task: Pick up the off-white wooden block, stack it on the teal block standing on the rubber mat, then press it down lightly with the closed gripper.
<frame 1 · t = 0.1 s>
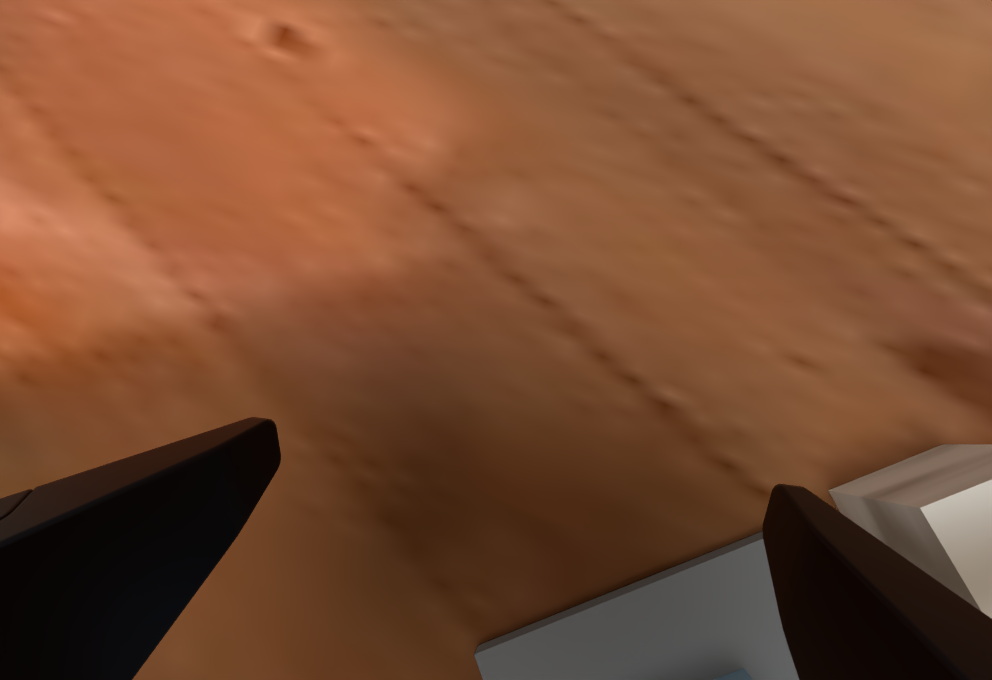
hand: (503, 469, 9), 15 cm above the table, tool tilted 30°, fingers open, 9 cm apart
top brick: (918, 525, 21), on the table
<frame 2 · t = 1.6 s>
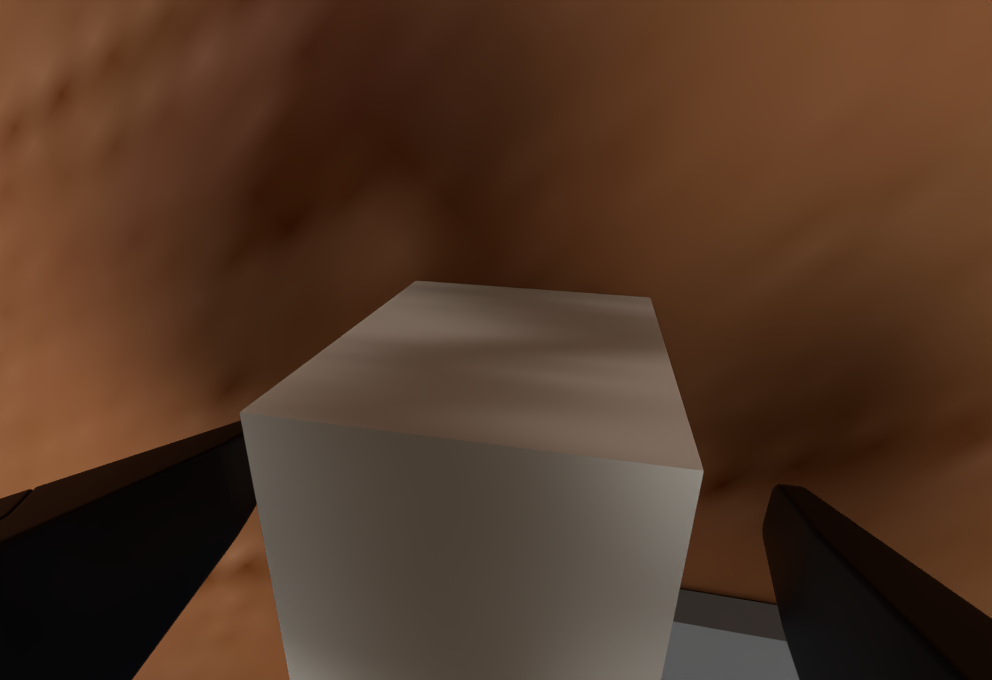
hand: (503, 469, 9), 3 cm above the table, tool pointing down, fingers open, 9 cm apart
top brick: (523, 392, 12), on the table
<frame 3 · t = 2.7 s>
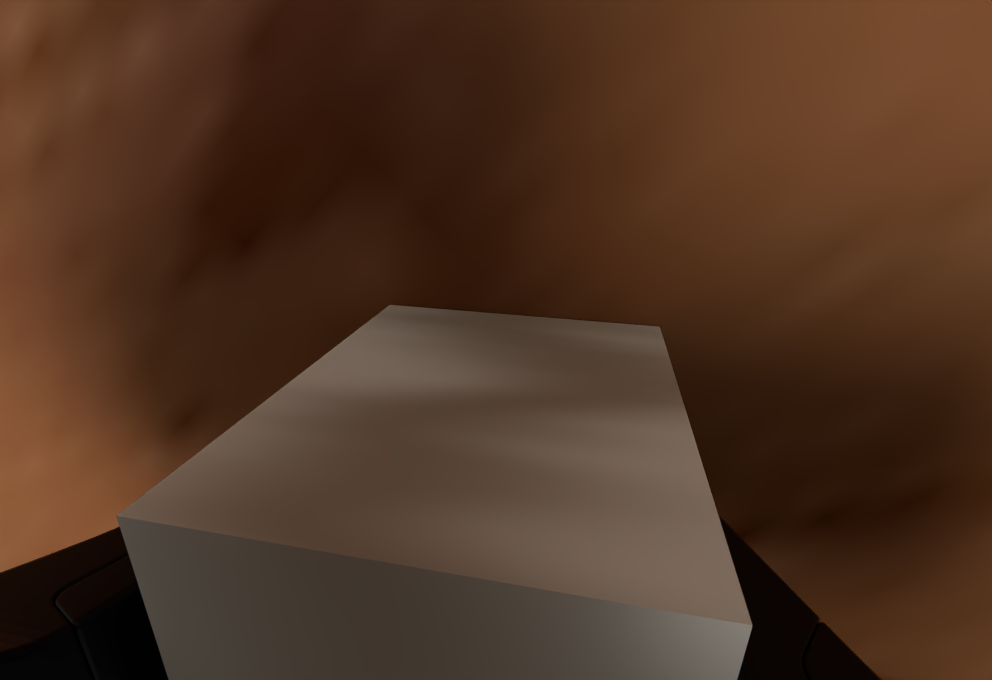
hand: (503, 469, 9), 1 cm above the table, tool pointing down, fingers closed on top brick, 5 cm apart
top brick: (514, 432, 10), on the table, touching gripper
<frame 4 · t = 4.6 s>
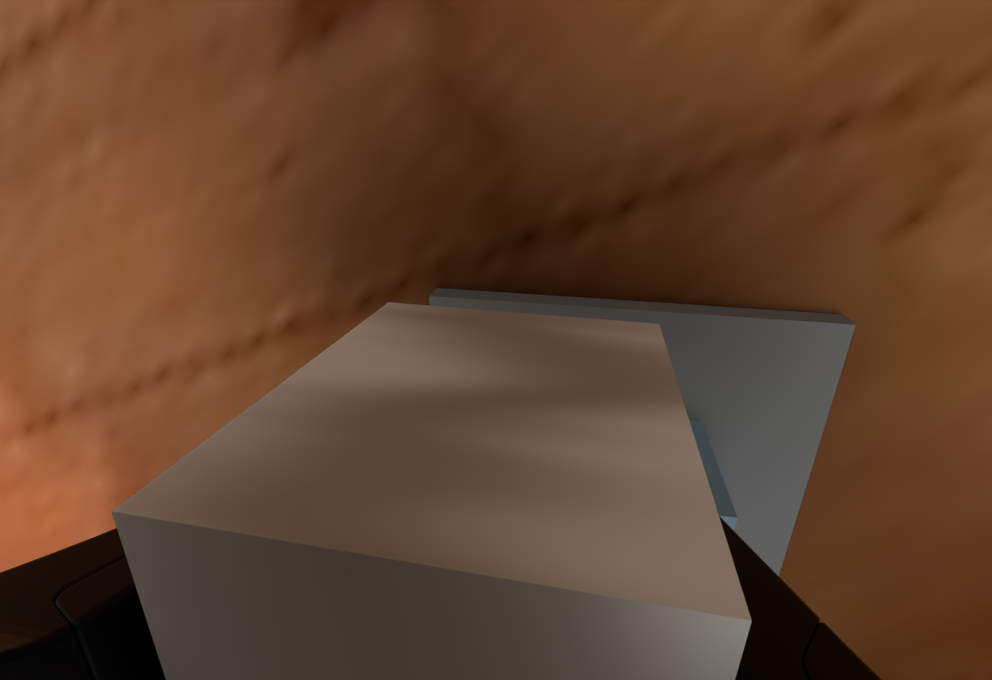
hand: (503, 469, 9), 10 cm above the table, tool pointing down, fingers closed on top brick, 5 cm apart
top brick: (513, 430, 10), point 9 cm above the table, touching gripper
base mat: (607, 463, 21), on the table
bottom brick: (608, 478, 20), point 1 cm above the table, touching base mat
when the fingers open (9 cm above the table, at t = 6.3 s): top brick drops 1 cm, resting on bottom brick.
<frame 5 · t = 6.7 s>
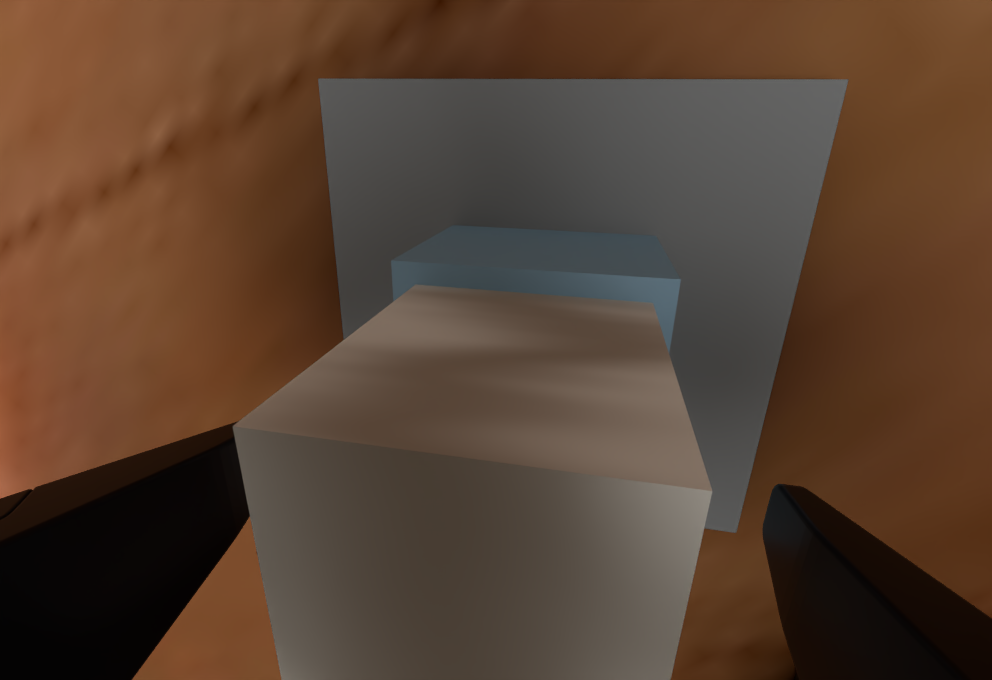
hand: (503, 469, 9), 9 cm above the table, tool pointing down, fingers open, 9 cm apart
top brick: (524, 398, 12), point 6 cm above the table, touching bottom brick
base mat: (548, 315, 17), on the table
bottom brick: (545, 325, 16), point 1 cm above the table, touching base mat, top brick
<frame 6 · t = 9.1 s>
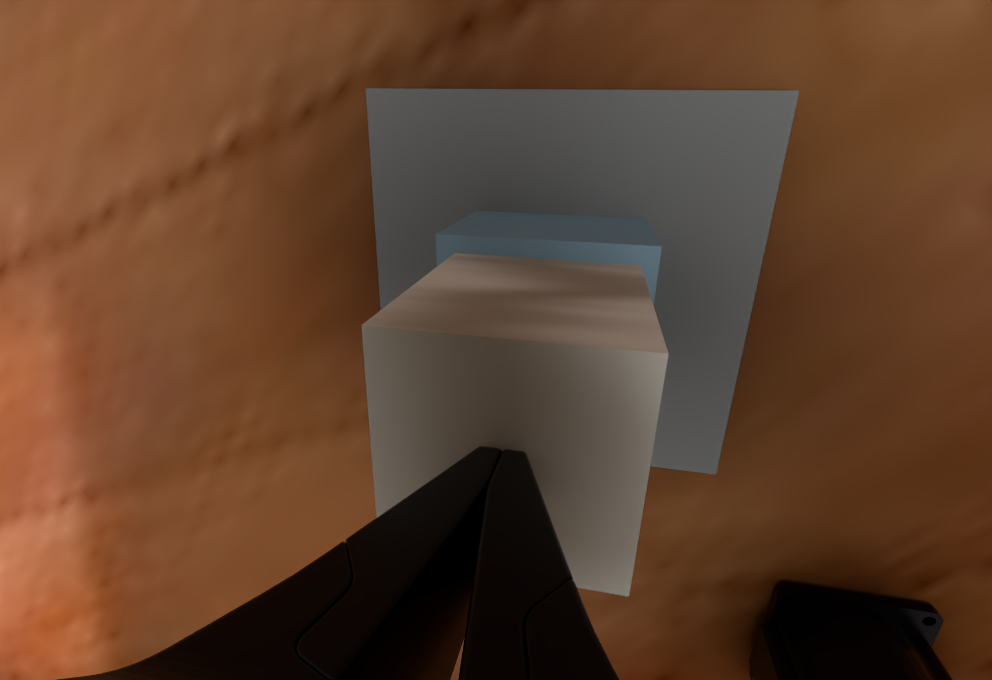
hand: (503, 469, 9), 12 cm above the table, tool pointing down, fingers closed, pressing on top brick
top brick: (539, 344, 15), point 6 cm above the table, touching bottom brick, gripper
base mat: (555, 288, 20), on the table
bottom brick: (553, 295, 19), point 1 cm above the table, touching base mat, top brick
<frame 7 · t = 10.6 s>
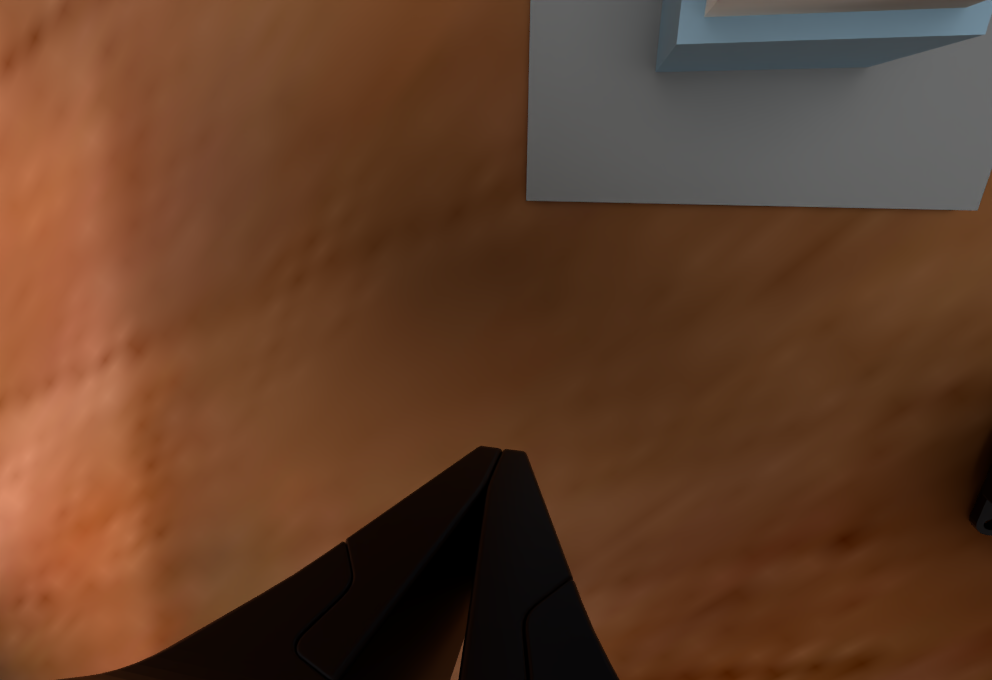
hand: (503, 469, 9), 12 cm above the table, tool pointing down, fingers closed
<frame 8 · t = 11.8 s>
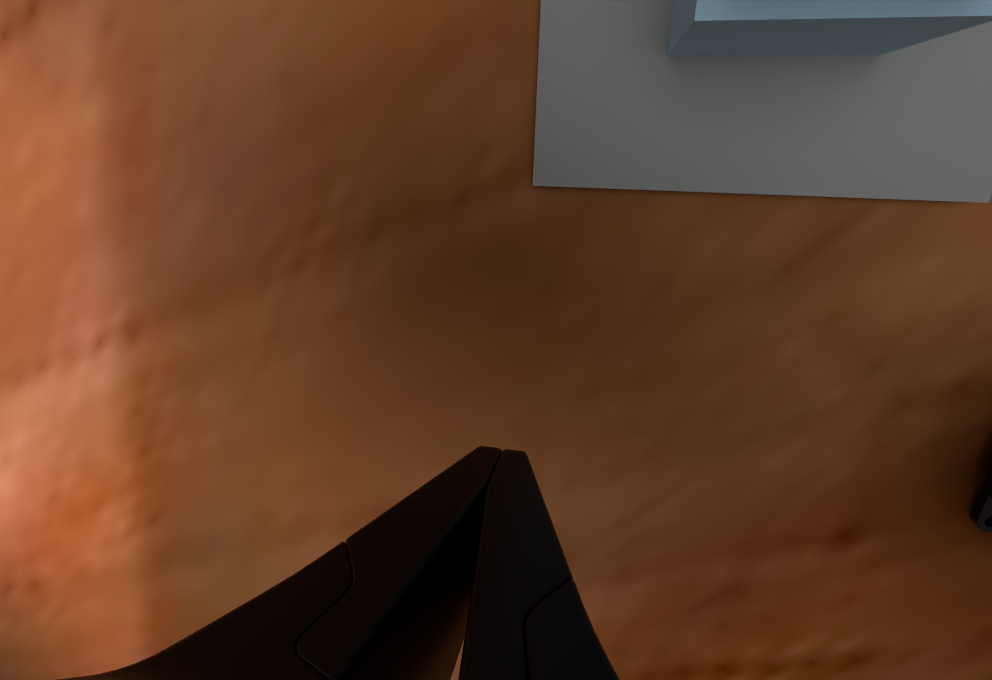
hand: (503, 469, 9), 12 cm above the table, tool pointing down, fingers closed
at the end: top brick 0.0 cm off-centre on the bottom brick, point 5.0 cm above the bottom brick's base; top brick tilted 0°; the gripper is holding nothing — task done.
